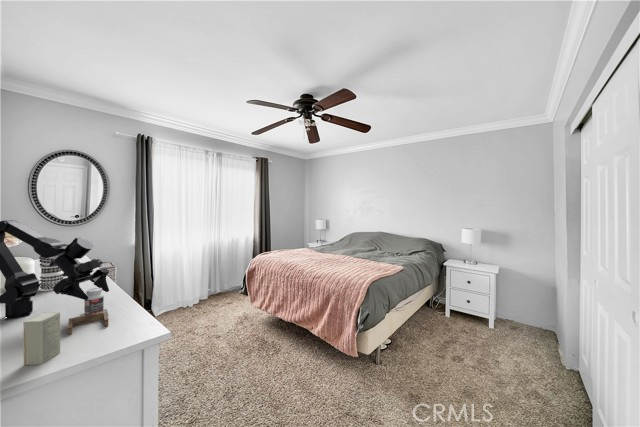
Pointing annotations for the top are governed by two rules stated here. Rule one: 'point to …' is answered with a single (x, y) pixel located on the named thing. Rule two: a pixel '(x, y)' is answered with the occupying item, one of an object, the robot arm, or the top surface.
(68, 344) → the top surface
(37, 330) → the skincare box
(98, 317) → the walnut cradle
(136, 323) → the top surface
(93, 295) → the pill bottle
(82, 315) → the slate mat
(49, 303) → the top surface
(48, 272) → the decorative candle
